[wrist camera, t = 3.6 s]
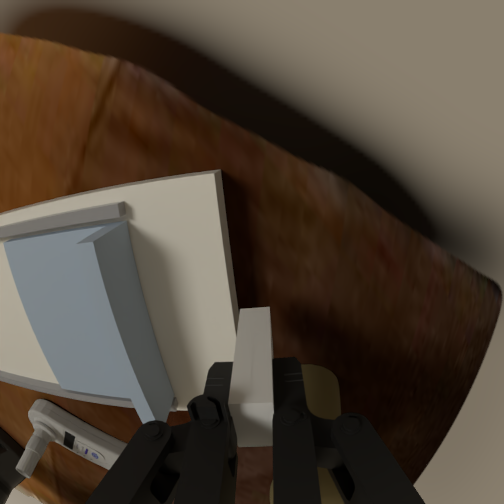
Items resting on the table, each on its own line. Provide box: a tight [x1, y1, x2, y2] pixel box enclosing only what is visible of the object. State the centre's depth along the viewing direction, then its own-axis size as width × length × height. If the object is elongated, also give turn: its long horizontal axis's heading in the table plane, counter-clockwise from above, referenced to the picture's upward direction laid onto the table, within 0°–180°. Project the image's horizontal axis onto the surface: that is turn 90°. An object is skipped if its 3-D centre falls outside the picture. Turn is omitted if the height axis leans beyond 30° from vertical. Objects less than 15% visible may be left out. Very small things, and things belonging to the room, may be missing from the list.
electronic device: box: [16, 399, 127, 478], centre depth 22 cm, size 5×10×15 cm
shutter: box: [3, 221, 174, 424], centre depth 16 cm, size 10×12×4 cm
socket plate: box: [0, 170, 239, 411], centre depth 19 cm, size 26×16×3 cm, turn 96°
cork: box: [270, 364, 344, 504], centre depth 17 cm, size 6×6×11 cm
